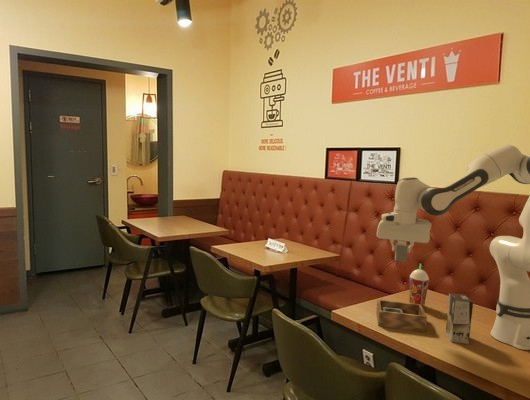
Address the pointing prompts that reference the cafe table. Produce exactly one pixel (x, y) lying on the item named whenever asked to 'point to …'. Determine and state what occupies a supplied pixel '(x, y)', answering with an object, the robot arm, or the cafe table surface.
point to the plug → (401, 251)
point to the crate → (401, 315)
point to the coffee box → (459, 318)
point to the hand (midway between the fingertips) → (400, 251)
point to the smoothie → (418, 286)
